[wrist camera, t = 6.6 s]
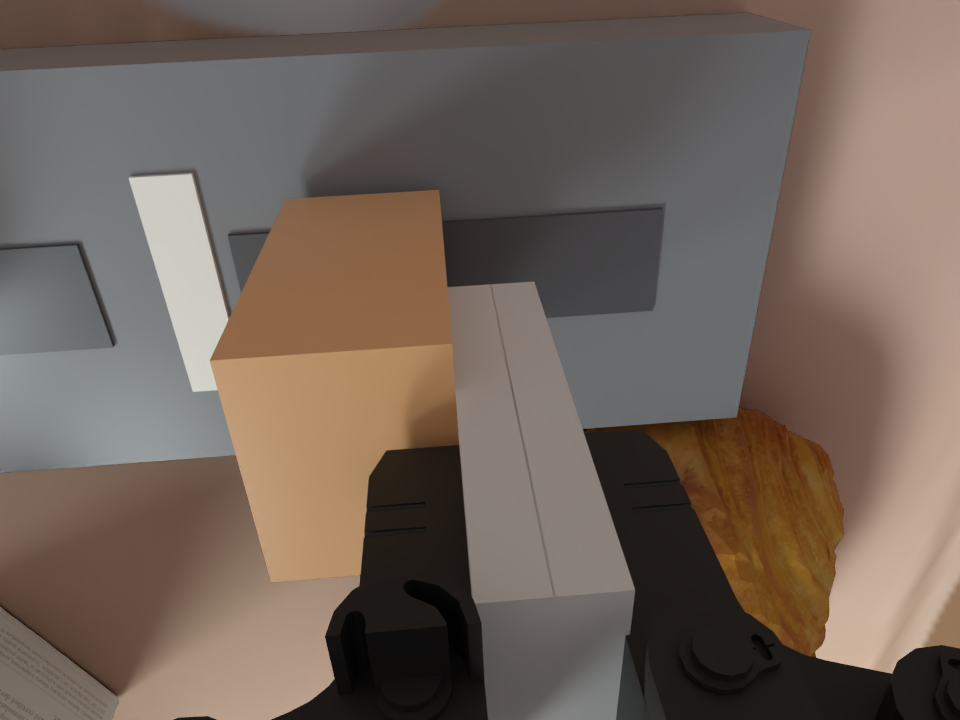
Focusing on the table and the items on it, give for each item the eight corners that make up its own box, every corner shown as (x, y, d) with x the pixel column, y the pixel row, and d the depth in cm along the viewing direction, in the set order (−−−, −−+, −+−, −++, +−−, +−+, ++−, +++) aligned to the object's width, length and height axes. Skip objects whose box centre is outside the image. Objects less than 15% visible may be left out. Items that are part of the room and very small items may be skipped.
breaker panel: (-239, 422, 19) (-341, 501, 17) (-485, 73, 15) (-682, 106, 12) (697, 355, 21) (738, 419, 18) (747, 12, 16) (813, 31, 13)
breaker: (317, 371, 16) (271, 582, 11) (284, 198, 14) (209, 360, 9) (450, 362, 16) (466, 565, 11) (438, 189, 14) (452, 344, 9)
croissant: (313, 464, 25) (232, 679, 18) (770, 300, 20) (886, 508, 13) (495, 689, 32) (485, 904, 25) (866, 605, 27) (975, 842, 20)
